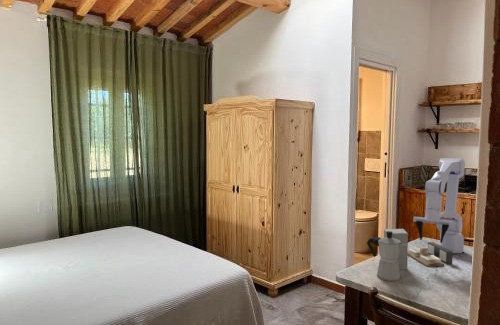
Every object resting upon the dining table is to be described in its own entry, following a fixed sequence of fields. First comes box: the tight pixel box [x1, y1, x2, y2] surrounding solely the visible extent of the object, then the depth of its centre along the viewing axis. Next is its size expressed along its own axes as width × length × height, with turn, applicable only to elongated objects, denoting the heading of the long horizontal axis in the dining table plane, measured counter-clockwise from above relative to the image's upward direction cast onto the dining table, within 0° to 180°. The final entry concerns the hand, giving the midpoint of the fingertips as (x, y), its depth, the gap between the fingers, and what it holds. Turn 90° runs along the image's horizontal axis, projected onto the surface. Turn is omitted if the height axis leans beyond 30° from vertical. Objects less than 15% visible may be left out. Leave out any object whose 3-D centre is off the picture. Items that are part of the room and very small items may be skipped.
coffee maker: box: [366, 231, 406, 282], centre depth 145 cm, size 15×9×18 cm, turn 57°
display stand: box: [408, 246, 445, 268], centre depth 165 cm, size 8×17×5 cm, turn 7°
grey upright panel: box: [427, 241, 454, 265], centre depth 166 cm, size 14×3×6 cm, turn 7°
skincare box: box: [383, 228, 409, 270], centre depth 155 cm, size 8×7×16 cm
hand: (430, 240), depth 156 cm, fingers open, 7 cm apart
